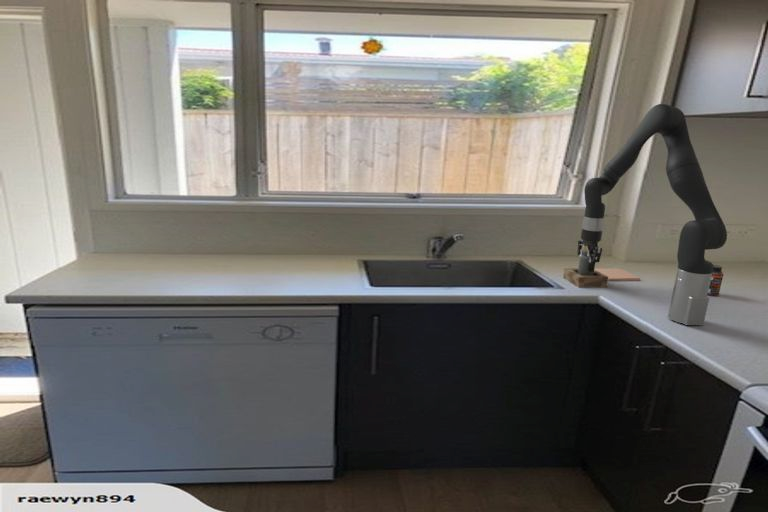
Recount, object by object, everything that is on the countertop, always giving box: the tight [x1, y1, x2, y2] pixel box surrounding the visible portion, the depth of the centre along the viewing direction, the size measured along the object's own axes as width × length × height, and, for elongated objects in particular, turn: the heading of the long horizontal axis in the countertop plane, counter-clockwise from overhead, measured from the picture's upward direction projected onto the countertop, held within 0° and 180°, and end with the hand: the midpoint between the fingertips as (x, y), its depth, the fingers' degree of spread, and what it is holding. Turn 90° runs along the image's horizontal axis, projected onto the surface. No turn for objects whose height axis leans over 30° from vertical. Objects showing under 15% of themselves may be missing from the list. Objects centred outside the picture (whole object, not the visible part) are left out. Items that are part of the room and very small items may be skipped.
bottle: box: [577, 246, 596, 276], centre depth 184 cm, size 6×6×15 cm
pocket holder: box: [563, 267, 609, 288], centre depth 186 cm, size 12×12×4 cm
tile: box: [594, 268, 641, 282], centre depth 196 cm, size 14×14×1 cm
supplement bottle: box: [707, 264, 724, 297], centre depth 174 cm, size 6×6×11 cm
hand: (586, 268), depth 185 cm, fingers closed on bottle, 5 cm apart
